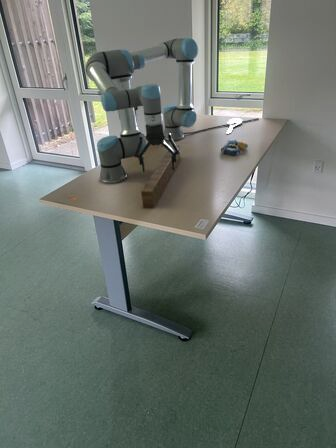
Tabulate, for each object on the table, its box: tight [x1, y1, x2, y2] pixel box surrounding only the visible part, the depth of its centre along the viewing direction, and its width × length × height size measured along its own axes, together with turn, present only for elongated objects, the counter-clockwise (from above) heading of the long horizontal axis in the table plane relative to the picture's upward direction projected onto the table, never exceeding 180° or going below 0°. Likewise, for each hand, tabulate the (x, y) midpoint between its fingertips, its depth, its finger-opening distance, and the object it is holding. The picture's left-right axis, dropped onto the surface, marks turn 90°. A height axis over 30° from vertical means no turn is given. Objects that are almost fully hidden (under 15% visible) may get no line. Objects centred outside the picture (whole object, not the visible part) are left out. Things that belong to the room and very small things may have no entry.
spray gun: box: [220, 139, 249, 156], centre depth 214 cm, size 21×4×15 cm
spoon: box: [226, 117, 243, 135], centre depth 260 cm, size 35×11×2 cm, turn 159°
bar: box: [140, 145, 181, 209], centre depth 182 cm, size 64×5×9 cm, turn 167°
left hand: (158, 170), depth 154 cm, fingers open, 13 cm apart
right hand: (128, 120), depth 204 cm, fingers open, 13 cm apart
